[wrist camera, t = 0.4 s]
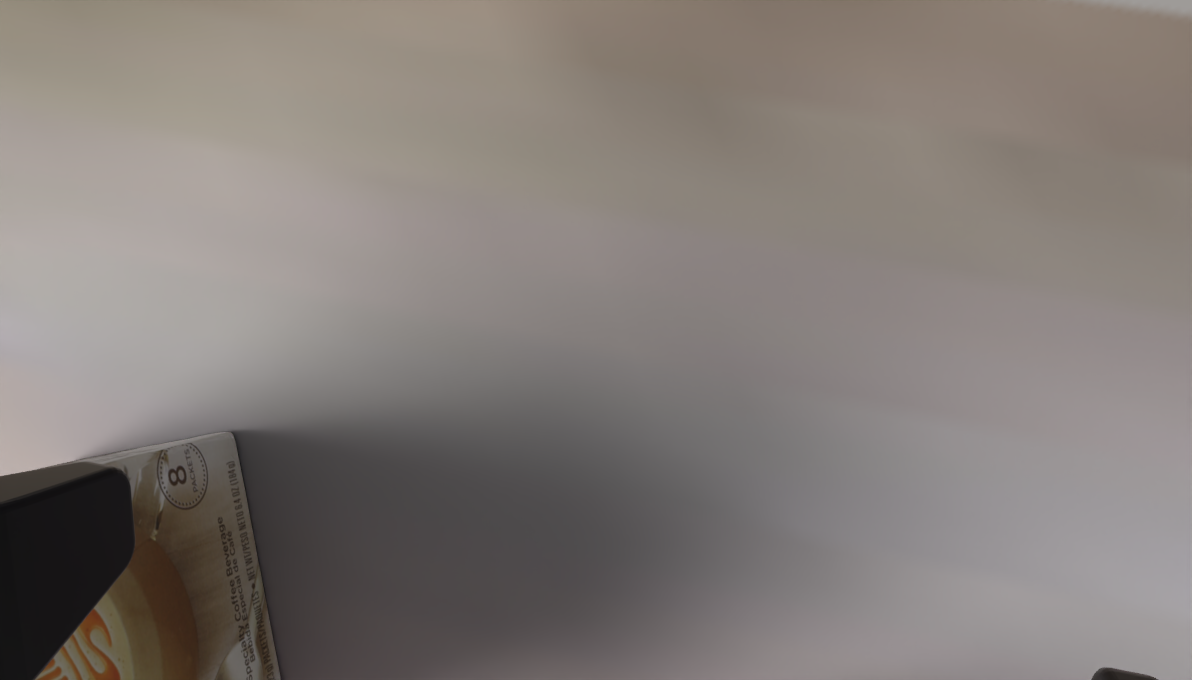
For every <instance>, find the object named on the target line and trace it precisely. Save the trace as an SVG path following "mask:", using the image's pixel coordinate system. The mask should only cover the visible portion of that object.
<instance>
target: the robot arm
mask: <svg viewBox="0 0 1192 680" xmlns="http://www.w3.org/2000/svg"><path fill="white" fill-rule="evenodd" d="M134 549H135V529H134V517H133V506H132V494H131V485H130V480H129V478H128V476H127V474H126V473H125V472H124V471H123V470H122V469H120V468H118V467H114V466H109V465H104V464H99V463H94V462H88V461H83V462H76V463H70V464H65V465H59V466H54V467H48V468H43V469H37V470H32V471H26V472H21V473H15V474H10V475H4V476H0V680H35V679H36V678H37V677H38V676H39V675H40V674H41V672H42V671H43V670H44V669H45V668H46V666H47V665H48V664H49V663H50V662H51V660H52V659H53V658H54V657H55V655H56V654H57V653H58V652H59V650H60V649H61V648H62V647H63V646H64V644H65V643H66V642H67V641H68V639H69V638H70V637H71V636H72V635H73V633H74V632H75V631H76V630H77V628H78V627H79V626H80V625H81V623H82V622H83V621H84V620H85V619H86V617H87V616H88V615H89V614H90V612H91V611H92V610H93V609H94V607H95V606H96V605H97V604H98V603H99V601H100V600H101V599H102V598H103V596H104V595H105V594H106V593H107V591H108V590H109V589H110V588H111V587H112V585H113V584H114V583H115V582H116V580H117V579H118V578H119V577H120V576H121V574H122V573H123V572H124V571H125V569H126V568H127V566H128V565H129V563H130V561H131V559H132V556H133V553H134ZM1091 680H1158V679H1156V678H1154V677H1151V676H1148V675H1144V674H1139V673H1134V672H1129V671H1124V670H1119V669H1114V668H1101V669H1099V670H1098V671H1097V672H1096V673H1095V674H1094V676H1093V677H1092V679H1091Z"/></svg>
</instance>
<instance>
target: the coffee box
mask: <svg viewBox="0 0 1192 680" xmlns="http://www.w3.org/2000/svg"><path fill="white" fill-rule="evenodd" d="M83 461H88V462H94V463H99V464H104V465H109V466H114V467H118V468H120V469H122V470H123V471H124V472H125V473H126V474H127V476H128V478H129V480H130V485H131V494H132V506H133V517H134V529H135V549H134V553H133V556H132V559H131V561H130V563H129V565H128V566H127V568H126V569H125V571H124V572H123V573H122V574H121V576H120V577H119V578H118V579H117V580H116V582H115V583H114V584H113V585H112V587H111V588H110V589H109V590H108V591H107V593H106V594H105V595H104V596H103V598H102V599H101V600H100V601H99V603H98V604H97V605H96V606H95V607H94V609H93V610H92V611H91V612H90V614H89V615H88V616H87V617H86V619H85V620H84V621H83V622H82V623H81V625H80V626H79V627H78V628H77V630H76V631H75V632H74V633H73V635H72V636H71V637H70V638H69V639H68V641H67V642H66V643H65V644H64V646H63V647H62V648H61V649H60V650H59V652H58V653H57V654H56V655H55V657H54V658H53V659H52V660H51V662H50V663H49V664H48V665H47V666H46V668H45V669H44V670H43V671H42V672H41V674H40V675H39V676H38V677H37V678H36V679H35V680H281V678H280V672H279V667H278V661H277V656H276V651H275V646H274V641H273V636H272V630H271V625H270V620H269V614H268V609H267V604H266V598H265V593H264V588H263V583H262V577H261V572H260V567H259V562H258V557H257V551H256V546H255V540H254V535H253V530H252V525H251V520H250V515H249V509H248V503H247V498H246V492H245V487H244V482H243V477H242V472H241V467H240V462H239V457H238V452H237V447H236V442H235V439H234V436H233V434H232V433H231V432H219V433H214V434H208V435H202V436H198V437H194V438H189V439H184V440H178V441H173V442H168V443H162V444H157V445H152V446H146V447H141V448H136V449H130V450H125V451H120V452H115V453H110V454H105V455H100V456H95V457H90V458H85V459H81V460H76V461H71V462H67V463H62V464H57V465H54V466H59V465H65V464H70V463H76V462H83ZM54 466H50V467H54ZM45 468H48V467H45ZM41 469H43V468H41Z"/></svg>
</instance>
